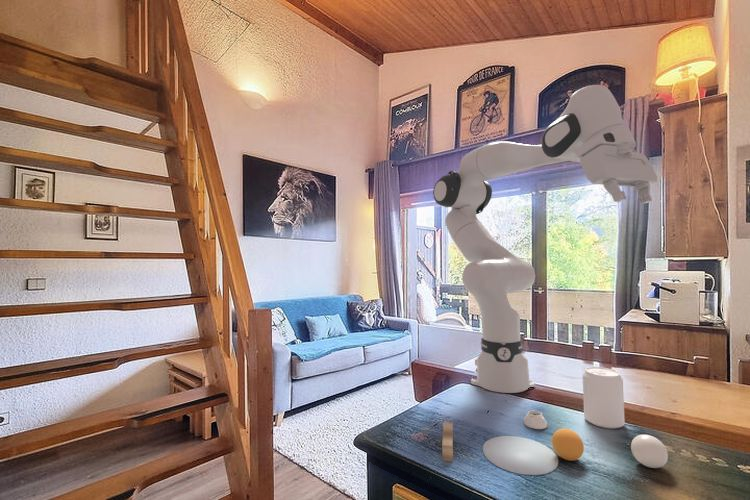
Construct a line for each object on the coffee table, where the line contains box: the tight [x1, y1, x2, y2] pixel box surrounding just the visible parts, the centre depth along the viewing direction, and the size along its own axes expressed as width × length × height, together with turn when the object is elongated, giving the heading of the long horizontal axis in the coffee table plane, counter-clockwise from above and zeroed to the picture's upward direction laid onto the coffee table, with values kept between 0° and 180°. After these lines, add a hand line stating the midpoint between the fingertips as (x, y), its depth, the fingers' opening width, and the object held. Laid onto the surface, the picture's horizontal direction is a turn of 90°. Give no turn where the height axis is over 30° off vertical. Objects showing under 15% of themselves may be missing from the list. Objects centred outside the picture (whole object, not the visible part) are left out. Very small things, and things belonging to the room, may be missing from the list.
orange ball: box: [551, 428, 585, 461], centre depth 70 cm, size 6×6×6 cm
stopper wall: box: [441, 421, 454, 463], centre depth 75 cm, size 10×2×3 cm, turn 168°
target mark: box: [482, 435, 559, 476], centre depth 72 cm, size 14×14×1 cm
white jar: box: [523, 410, 548, 430], centre depth 84 cm, size 5×3×5 cm
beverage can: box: [582, 366, 625, 429], centre depth 85 cm, size 8×8×12 cm
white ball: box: [630, 434, 669, 469], centre depth 67 cm, size 6×6×6 cm
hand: (634, 201), depth 78 cm, fingers open, 8 cm apart
